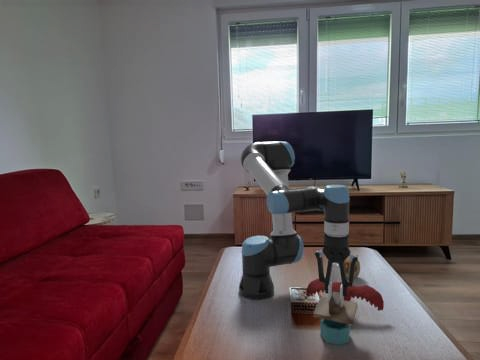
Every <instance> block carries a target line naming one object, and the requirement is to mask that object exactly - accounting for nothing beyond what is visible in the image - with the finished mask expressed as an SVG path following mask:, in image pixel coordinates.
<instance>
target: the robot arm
mask: <svg viewBox="0 0 480 360" xmlns="http://www.w3.org/2000/svg"><path fill="white" fill-rule="evenodd" d="M295 160H296V156H295V151H294V148H293V147H292V145H291V144H290V143H289V142H287V141H279V140H277V141H255V142H252V143H250V144H249V145H247V146H246V147H245V148H244V149H243V151H242V153H241V155H240V163H241V167H242V168H243V169H244V171H245V172H246V173H248V174H251V176H252V177H253V179H254V180H255V181H256V183H257V184H258V186H259V187H260V188H261V190H262V191H263V192H264V193H265V195H266V206H267V210H268V212H269V213H271V218H272V219H271V220H272V229H273V230H272V231H271V232H270V238H269V237H268V236H265V235H253V236H250V237H247V238H246V239H245V240H244V241H243V242H242V245H241V260H242V261H241V263H242V264H241V265H242V266H241V267H242V269H241V270H242V274H241V278H240V282H239V285H238V293H239V294H240V296H241V297H242V298H243V297H244V298H246V299H248V300H264V299H267V298H270V297H271V296H273V294H274V292H275V285H274V282H273V280H272V276H271V274H270V268H271V267H277V266H283V265H291V264H295V263H298V262H300V261H301V260H302V258H303V255H304V247H305V246H304V242H303V239H302V237H301V236H300V235H298V233H297V232H298V231H296V230H295V229H294V228H293V216H292V215H293V214H292V213H301V212H311V211H320V212H323V214H324V215H323V222H324V223H323V227H324V228H323V232H324V233H323V247H322V249H320V250H318V249H317V250H316V251H315V252H314V256H315V258H316V260H317V261H316V262H317V271H318V272H317V273H318V279H319V281H320V282H323V283H325V290H324V293H325V294H327V297H328V304H329V301H330V299H331V296H332V282H329V281H330V276H331V270H332V264H333V263H335V262H336V263H339V267H340V273H341V279H342V284H341V286H340V307H343V303H344V296H345V297H346V295H347V287H348V286H350V287H351V286H352V285H353V286H354V284H353V283H354V280H355V279H354V271H355V263H356V262H357V259H358V260H359V255H358V254H354V253H351V250H350V247H349V246H350V245H349V243H350V241H349V240H350V238H349V237H350V236H349V233H350V220H349V219H350V201H351V200H350V199H351V198H350V189H349V187H348V186H347V185H344V184H327V185H325V186H324V188H323V187H320V186H308V187H307V188H299V189H290V186H289V184H290V183H289V176H288V175H289V173H290V172H291V168H292V167H293V166H294V164H295ZM323 256H324V257H326V259H327V267H326V274H325V272H324V260H323ZM348 257H350V261H352V262H351V266H350V275H349V279H347V277H346V270H345V262H344V261H345V260H346V259H347V258H348Z"/></svg>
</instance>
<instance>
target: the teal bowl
mask: <svg viewBox="0 0 480 360" xmlns="http://www.w3.org/2000/svg"><path fill="white" fill-rule="evenodd" d="M320 337H321V338H322V339H323V340H325V342H326V343H330V344H333V345H337V346H340V345H344V344H347V343H349V341H350V338H351V325H350V324H345V323H341V322H336V321H331V320H326V319H322V318H321V320H320Z"/></svg>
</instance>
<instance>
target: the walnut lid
mask: <svg viewBox="0 0 480 360" xmlns="http://www.w3.org/2000/svg"><path fill="white" fill-rule="evenodd" d="M357 309H358V302H355V301H351V300H350V301H345V300H344V303H343V307H340V293H339V292H333V293H332V296H331V299H330V301H329V304H328V296H327V297H326V296H320V297H319V300H318V302H317V303H316V306H315V309H314V310H313V313H312V314H313V315H312V317H313V318H317V319H321V320H322V319H326V320H331V321H336V322H341V323H345V324H350V326H353V325H354V322H355V317H356V313H357Z"/></svg>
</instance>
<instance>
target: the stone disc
mask: <svg viewBox="0 0 480 360" xmlns="http://www.w3.org/2000/svg"><path fill="white" fill-rule="evenodd" d="M344 262H345V270H346V277H347V280H349V275H350V266H351V262H352V261H350V257H349V256H348V258H347V259H346V260H345V261H344ZM360 271H361V263H360V261H359V258H358V259H357V262H356V263H355V271H354V280H355V279H356V278H358V276H359V275H360Z"/></svg>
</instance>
